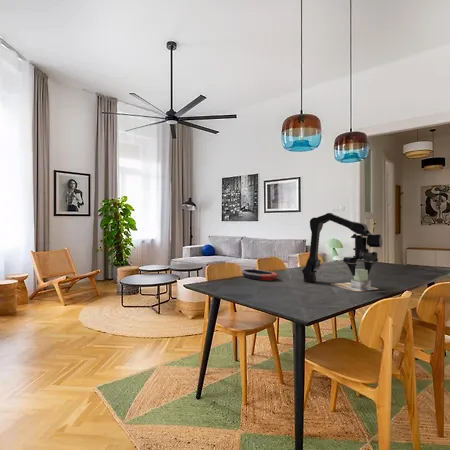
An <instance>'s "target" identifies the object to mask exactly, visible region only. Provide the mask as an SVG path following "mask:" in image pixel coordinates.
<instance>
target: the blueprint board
mask: <svg viewBox="0 0 450 450" xmlns="http://www.w3.org/2000/svg"><path fill="white" fill-rule="evenodd" d="M330 285H331V286H335V287H337V288H341V289H346V290H349V291H353V292H358V294H359V293H362V292H366V291H368V293H369V292H372V291H376V290H378V288H377V287H373V286H372V280H370V279H368V280H367V281H358V280H354V278H350V282H338V283H330Z"/></svg>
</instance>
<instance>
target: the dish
mask: <svg viewBox="0 0 450 450" xmlns="http://www.w3.org/2000/svg"><path fill="white" fill-rule="evenodd" d="M240 271H241V274H242V276H243V277H245V278H247V279H250V278H252V279H251V280H256V279H257V281H268V280H269V281H275V280H277V278H278V277H279V274H277V273H276V272H275V271H274V272H273V271H270V270H269V271H268V270H262V269H256V268H253V269H252V268H251V269H250V268H249V269H247V268H245V269H241V270H240Z"/></svg>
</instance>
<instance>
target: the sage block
mask: <svg viewBox="0 0 450 450" xmlns="http://www.w3.org/2000/svg"><path fill="white" fill-rule="evenodd" d="M353 279H354V280H358V281H367V280H369V275H368V270H365V268H364V269H363V268H355V276H353Z"/></svg>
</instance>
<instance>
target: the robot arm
mask: <svg viewBox="0 0 450 450" xmlns="http://www.w3.org/2000/svg"><path fill="white" fill-rule="evenodd" d="M328 222H333V223H335V224H338V225H340V226H343V227H345V228H347V229H348V230H350V231H351V232H353V233H354V234H353V235H352V236H350V238H351V239H354V247H353V248H352V249H353V251H354V255H353V256H344V257H343V259H342V262H343V263H345V265H347V267H348V268H349V271H350V273H351V275H352V276H353V277H354V276H355V269H356V266H357V262H363V263H364V269H365V270H368V276H369V274H370V271H371V269H372V267H373V265H375V264H377V263H378V261H379V259H378V252H377V251H372V252H369V251H370V250H369V248H382V247H383V238H382V235H381V234H379V233H378V234H372V233H371V232H370V230H369V229H368V226H367V224H366V223H362V222H358V221H357V222H356V221H352V220H349V219H347V218H344V217H342V216H339V215H336V214H334V213H332V212H327V213H325V214H323V215H320V216H317V217H312V218H311V219H309V229H310V232H311V236H310V248H309V256H308V258H307V260H306V263H305V266H304V267H303V268H302V269H301V272H302V274H303V284H305V285H306V284H313V283H317V276H316V273H317V271H318V270H319V269H320V267H321V262H322V260H321V259H319V257H318V256H319V255H318V254H319V244H320V236H321V235H320V233H321V231H322V229H323V227H324V224H326V223H328ZM367 246H368V247H369V248H367Z"/></svg>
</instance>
